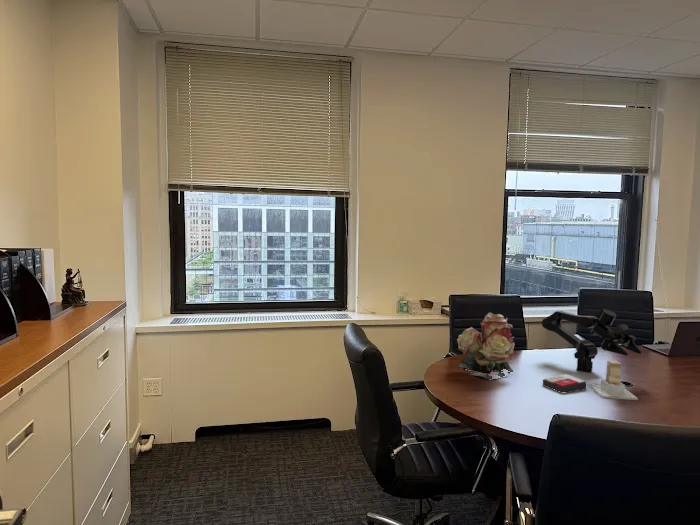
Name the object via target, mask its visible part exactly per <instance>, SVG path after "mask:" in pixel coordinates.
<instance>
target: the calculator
mask: <svg viewBox="0 0 700 525" xmlns="http://www.w3.org/2000/svg"><path fill="white" fill-rule="evenodd" d="M543 385H545V386H544V387H546V386H548V387H550V388H549V389H551V388H553V389H555V390H554V391H556V390H557V391H556V392H558V391H560V392H567V393H571V392H570V391H572V392H576V390H577V391H583V390H582V389H584V390H587V381H585V380H583V379H582V378H581V379H580V378H578V377H576V376H575V377H574V376H573V375H569V374H566V373H565V374H562V375H561V374H560V375H555V376H554V375H553V376H551V377H550V376H549V377H545V378H544V379H542V386H543ZM548 387H547V388H548ZM553 389H552V390H553ZM560 392H559V393H560Z"/></svg>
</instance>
